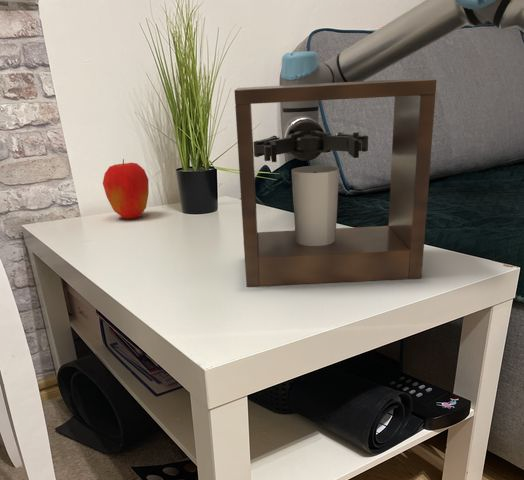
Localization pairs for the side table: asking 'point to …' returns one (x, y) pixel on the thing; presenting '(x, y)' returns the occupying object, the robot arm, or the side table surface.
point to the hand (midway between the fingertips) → (315, 151)
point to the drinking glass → (315, 204)
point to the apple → (127, 189)
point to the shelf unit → (347, 239)
